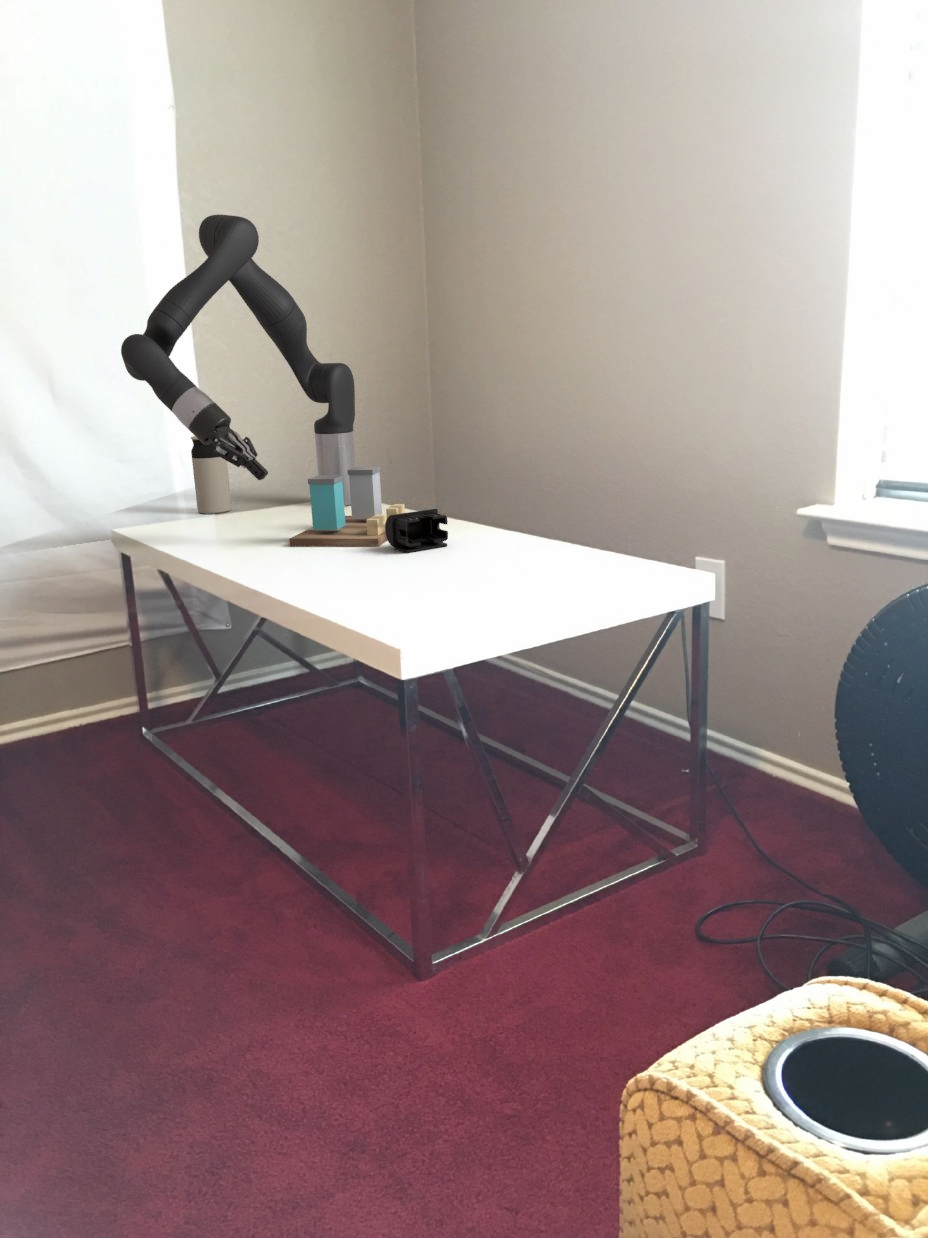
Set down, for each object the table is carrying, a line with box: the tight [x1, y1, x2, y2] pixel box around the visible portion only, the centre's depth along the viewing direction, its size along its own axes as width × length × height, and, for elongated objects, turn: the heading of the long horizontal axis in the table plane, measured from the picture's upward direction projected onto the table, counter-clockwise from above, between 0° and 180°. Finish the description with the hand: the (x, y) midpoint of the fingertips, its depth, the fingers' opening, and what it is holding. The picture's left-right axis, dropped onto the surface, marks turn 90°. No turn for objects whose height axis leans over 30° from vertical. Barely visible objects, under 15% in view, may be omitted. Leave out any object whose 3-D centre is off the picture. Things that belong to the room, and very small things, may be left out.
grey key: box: [347, 466, 383, 518], centre depth 216 cm, size 5×5×10 cm
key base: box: [288, 503, 406, 548], centre depth 211 cm, size 26×18×4 cm
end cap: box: [385, 508, 449, 554], centre depth 194 cm, size 10×7×7 cm
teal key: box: [307, 474, 346, 530], centre depth 204 cm, size 5×5×10 cm
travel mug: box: [190, 435, 233, 515], centre depth 246 cm, size 8×8×18 cm
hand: (264, 476), depth 206 cm, fingers closed
